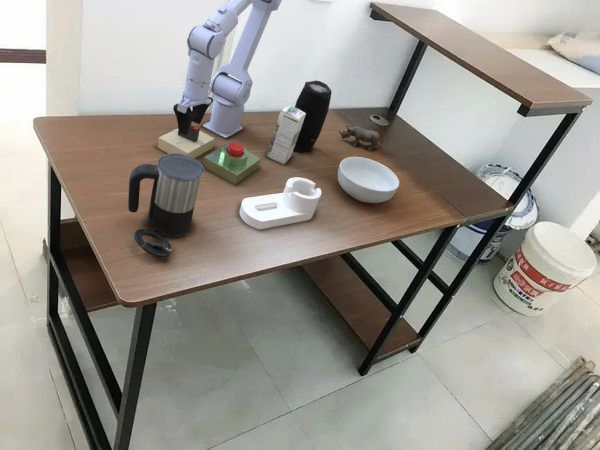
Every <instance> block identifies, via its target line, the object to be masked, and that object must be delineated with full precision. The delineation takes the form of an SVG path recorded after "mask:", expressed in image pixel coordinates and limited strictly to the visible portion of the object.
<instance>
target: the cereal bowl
mask: <svg viewBox="0 0 600 450" xmlns="http://www.w3.org/2000/svg"><path fill="white" fill-rule="evenodd" d="M337 181H338V184H339V185H340V187H341V189H342V190H343V191H344V192H345V193H346V194H348V195H349V196H351V197H352V198H354V199H355V200H356V201H358V202H362V203H369V204H370V203H371V204H379V203H380V204H381V203H384V202H387V201H388V200H391V199H392V197H394V196H395V194H396V193H397V191H398V188H399V186H400V179H399V178H398V176H397V175H396V173H394V171H392V170H391V169H390V168H389V167H387V166H386V165H384V164H382V163H380V162H379V161H376V160H373V159H372V158H368V157H362V156H348V157H345V158H344V159H342V160H341V161H340V162H339V165H338V169H337Z"/></svg>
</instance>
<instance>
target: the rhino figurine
mask: <svg viewBox="0 0 600 450" xmlns="http://www.w3.org/2000/svg"><path fill="white" fill-rule="evenodd" d="M346 128H347V129H346V131H345V130H342V131H341V130H338V133H339V135H340V136H341V139H342V140H343V139H349V138H351V137H354V138H355V139H354V141H353V143H352V146H354V147H357V146H358V144H359V143H360V141H361V142H363V143H370V145H369V146H368V147H367V150H368V151H372V150H373V149H377V146H378V142H379V140H380V134H379V132H378V131H375V130H372V129H371V130H370V129H369V130H368V129H365V128H363V127H361V126H353V127H352V126H351V127H350V126H349V125H348V124H346Z"/></svg>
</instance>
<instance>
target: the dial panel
mask: <svg viewBox="0 0 600 450" xmlns="http://www.w3.org/2000/svg"><path fill="white" fill-rule="evenodd" d="M157 140H158V141H157V148H158V149H160V150H161V151H163V152H165V153H167V154H183V155H187V156H190V157H192V158H194V159H196V158H197V157H200V156H201V155H203V154H205V153H206V152H208V151H210V150H212V149H213V148H214V144H215V140H216V137H213V136H211V135H209V134H207V133H205V132H203V131H202V130H200V131H199V136H198V140H197V141H196V142H193V141H190V140H188V139H186V138H183V137H181V136H178V128H176V129H172V130H171V131H169V132H167V133H165V134H163V135H160V136H159V137H158V139H157Z"/></svg>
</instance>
